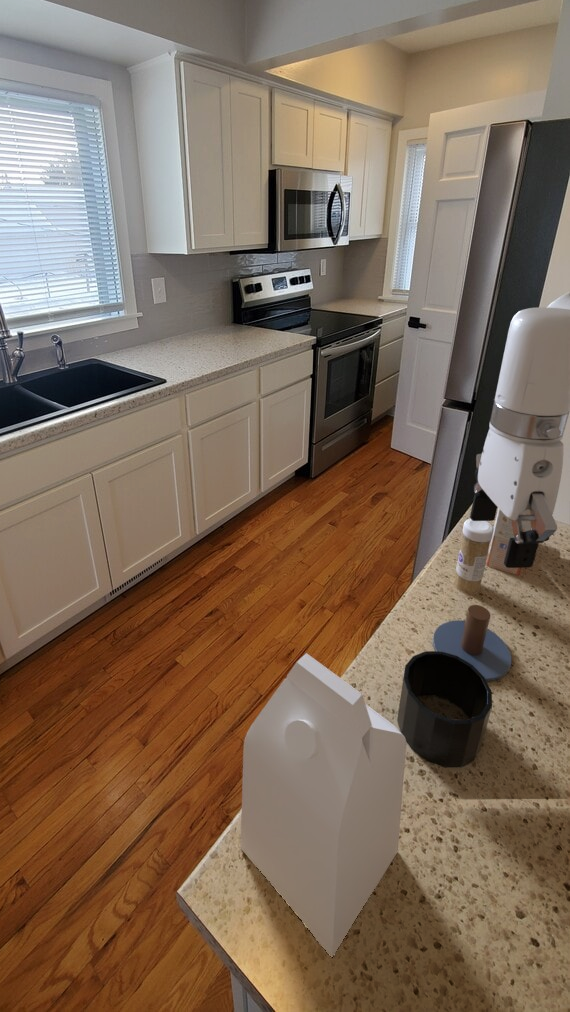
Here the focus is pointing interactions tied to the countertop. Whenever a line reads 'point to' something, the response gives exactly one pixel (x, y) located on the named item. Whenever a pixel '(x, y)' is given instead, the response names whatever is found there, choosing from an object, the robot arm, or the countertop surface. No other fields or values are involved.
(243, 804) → the milk
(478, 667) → the plate lid
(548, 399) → the robot arm
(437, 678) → the tin
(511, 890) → the countertop surface
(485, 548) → the sprinkles bottle
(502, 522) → the cracker box
